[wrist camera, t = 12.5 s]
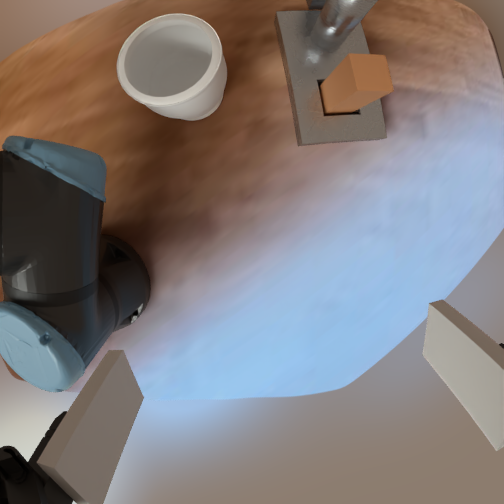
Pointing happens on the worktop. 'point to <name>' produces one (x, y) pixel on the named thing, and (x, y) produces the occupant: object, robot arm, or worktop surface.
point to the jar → (174, 67)
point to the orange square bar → (355, 84)
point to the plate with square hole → (325, 69)
